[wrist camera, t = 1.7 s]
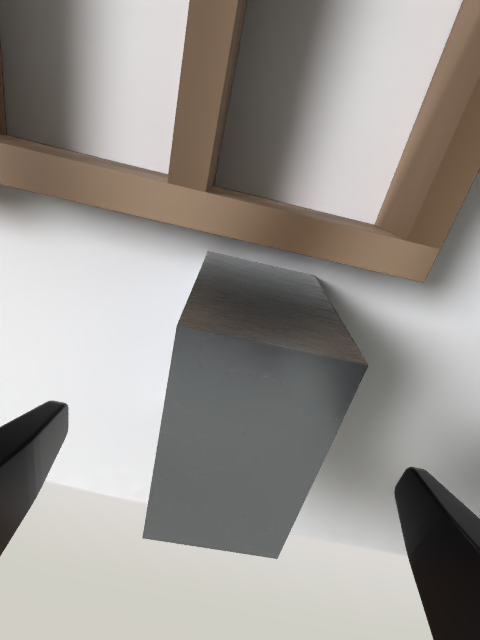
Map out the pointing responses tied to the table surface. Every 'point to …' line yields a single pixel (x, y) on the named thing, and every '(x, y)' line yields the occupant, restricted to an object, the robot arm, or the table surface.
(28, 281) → the table surface
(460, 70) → the slot rack
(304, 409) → the grey brushed metal block
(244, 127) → the table surface
